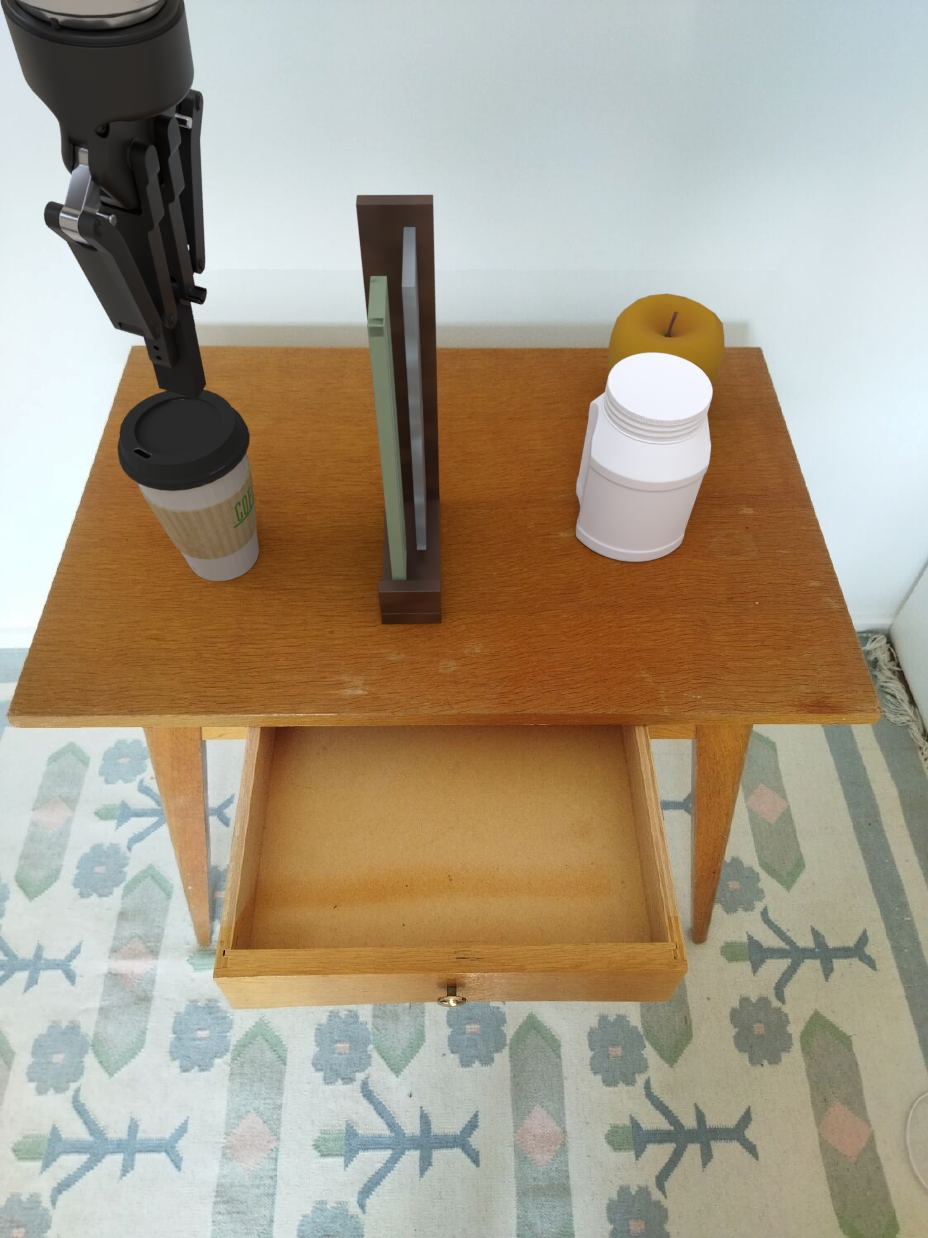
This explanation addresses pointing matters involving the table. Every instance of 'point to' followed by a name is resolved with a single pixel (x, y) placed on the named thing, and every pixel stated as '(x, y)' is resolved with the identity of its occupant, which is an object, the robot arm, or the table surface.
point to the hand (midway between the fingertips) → (182, 385)
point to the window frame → (409, 391)
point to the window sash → (387, 421)
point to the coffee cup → (195, 478)
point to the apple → (669, 332)
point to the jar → (644, 457)
